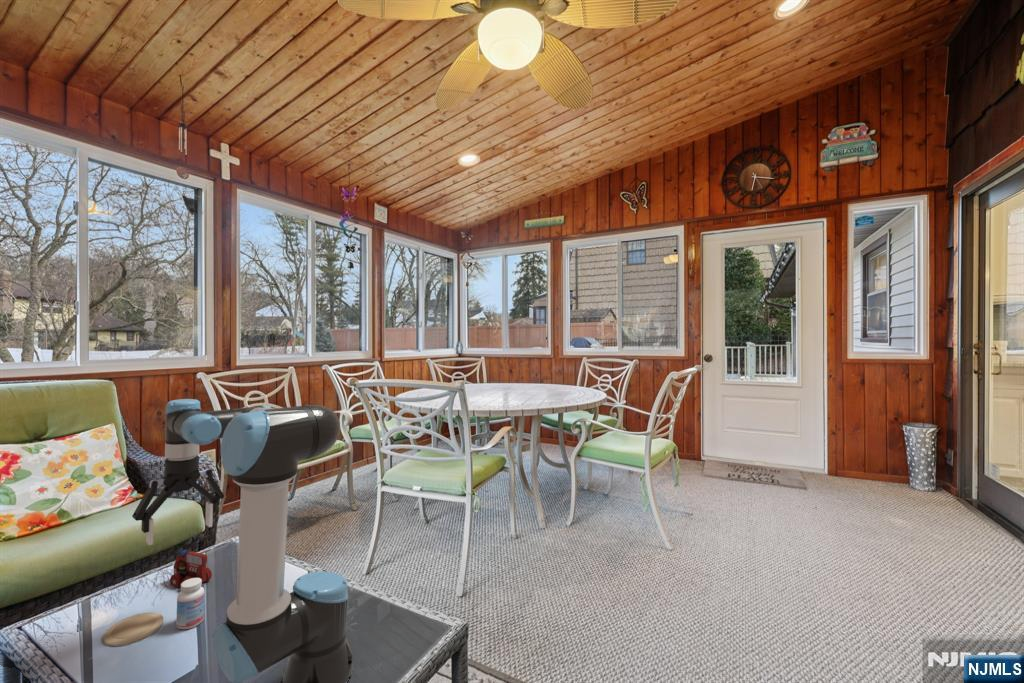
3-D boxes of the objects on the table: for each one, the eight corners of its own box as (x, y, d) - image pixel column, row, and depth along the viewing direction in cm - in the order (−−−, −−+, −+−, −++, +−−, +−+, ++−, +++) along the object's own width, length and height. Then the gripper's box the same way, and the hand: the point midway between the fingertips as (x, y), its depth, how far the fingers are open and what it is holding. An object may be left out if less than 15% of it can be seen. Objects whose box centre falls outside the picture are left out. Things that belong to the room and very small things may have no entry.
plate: (169, 627, 118) (170, 624, 118) (110, 653, 108) (110, 649, 108) (154, 609, 125) (154, 606, 125) (97, 632, 115) (97, 628, 115)
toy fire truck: (187, 574, 143) (187, 542, 143) (215, 582, 139) (216, 549, 139) (164, 585, 137) (165, 552, 136) (193, 594, 133) (194, 560, 133)
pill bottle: (189, 632, 117) (190, 590, 116) (170, 628, 118) (171, 586, 118) (209, 617, 123) (210, 577, 122) (191, 614, 124) (192, 574, 124)
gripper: (226, 445, 132) (225, 515, 133) (118, 464, 112) (116, 546, 112) (238, 450, 128) (236, 522, 128) (127, 470, 107) (125, 556, 108)
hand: (180, 534), depth 120 cm, fingers open, 13 cm apart
